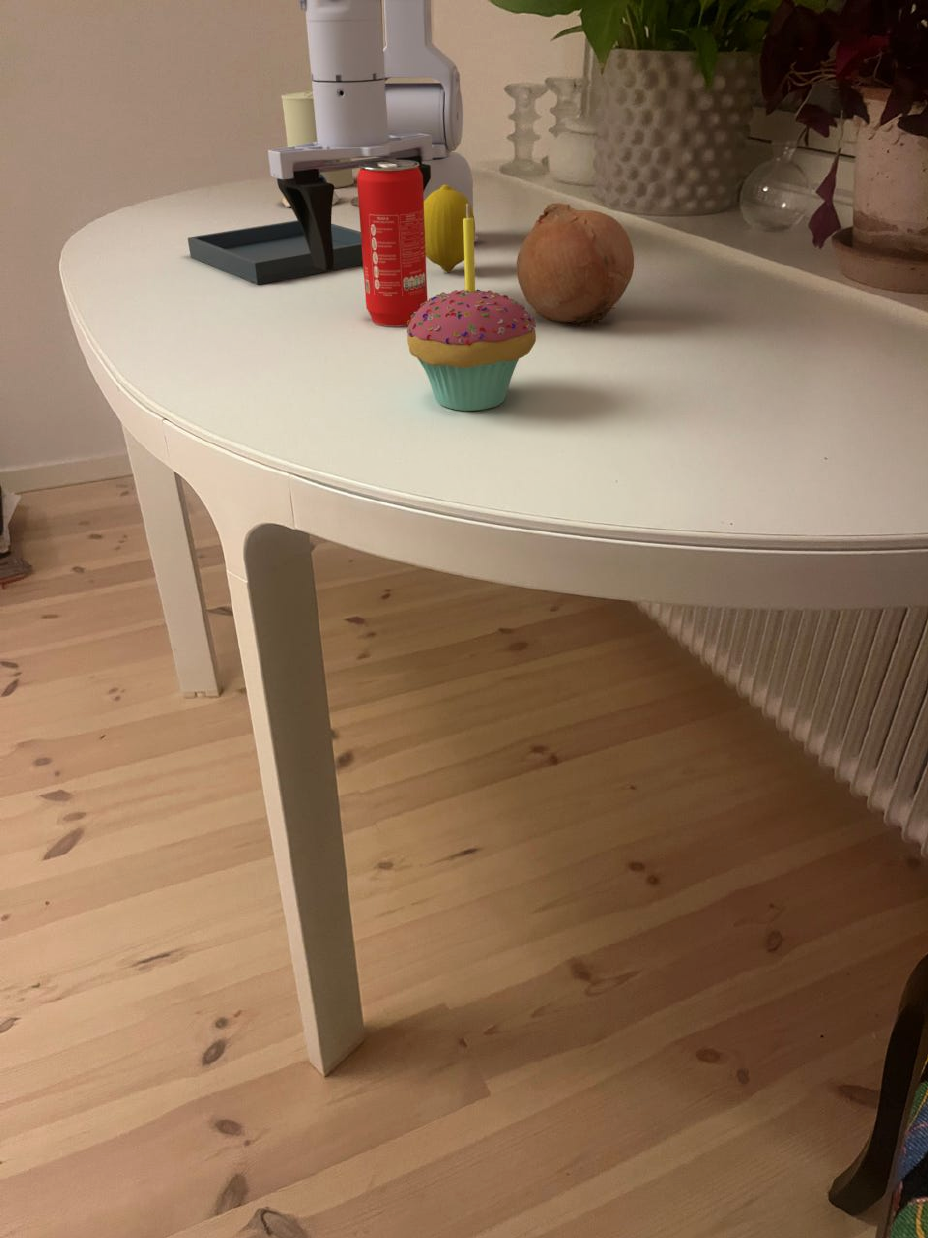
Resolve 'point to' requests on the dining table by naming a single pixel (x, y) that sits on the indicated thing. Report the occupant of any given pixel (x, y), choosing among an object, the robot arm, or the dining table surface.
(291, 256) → the tray
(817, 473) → the dining table surface
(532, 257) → the onion
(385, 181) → the beverage can
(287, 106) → the cream cylindrical container
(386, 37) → the robot arm
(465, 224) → the cupcake
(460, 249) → the lemon
